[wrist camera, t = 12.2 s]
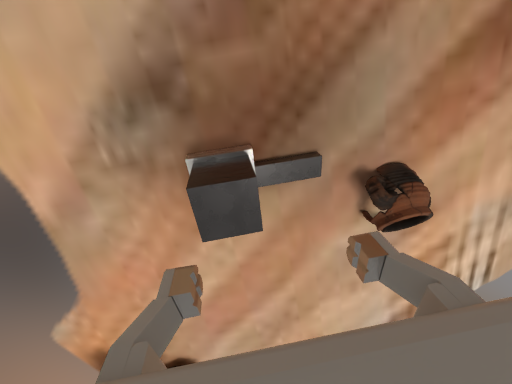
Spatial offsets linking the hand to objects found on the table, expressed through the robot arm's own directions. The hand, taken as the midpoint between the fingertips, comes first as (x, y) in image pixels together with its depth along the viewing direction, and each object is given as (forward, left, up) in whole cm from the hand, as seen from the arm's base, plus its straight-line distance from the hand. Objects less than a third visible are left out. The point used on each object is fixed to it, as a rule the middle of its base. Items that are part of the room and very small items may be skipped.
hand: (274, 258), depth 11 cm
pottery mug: (-21, +10, -19) cm, 30 cm away
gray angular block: (-2, +3, -19) cm, 19 cm away
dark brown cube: (+3, +3, -17) cm, 17 cm away
